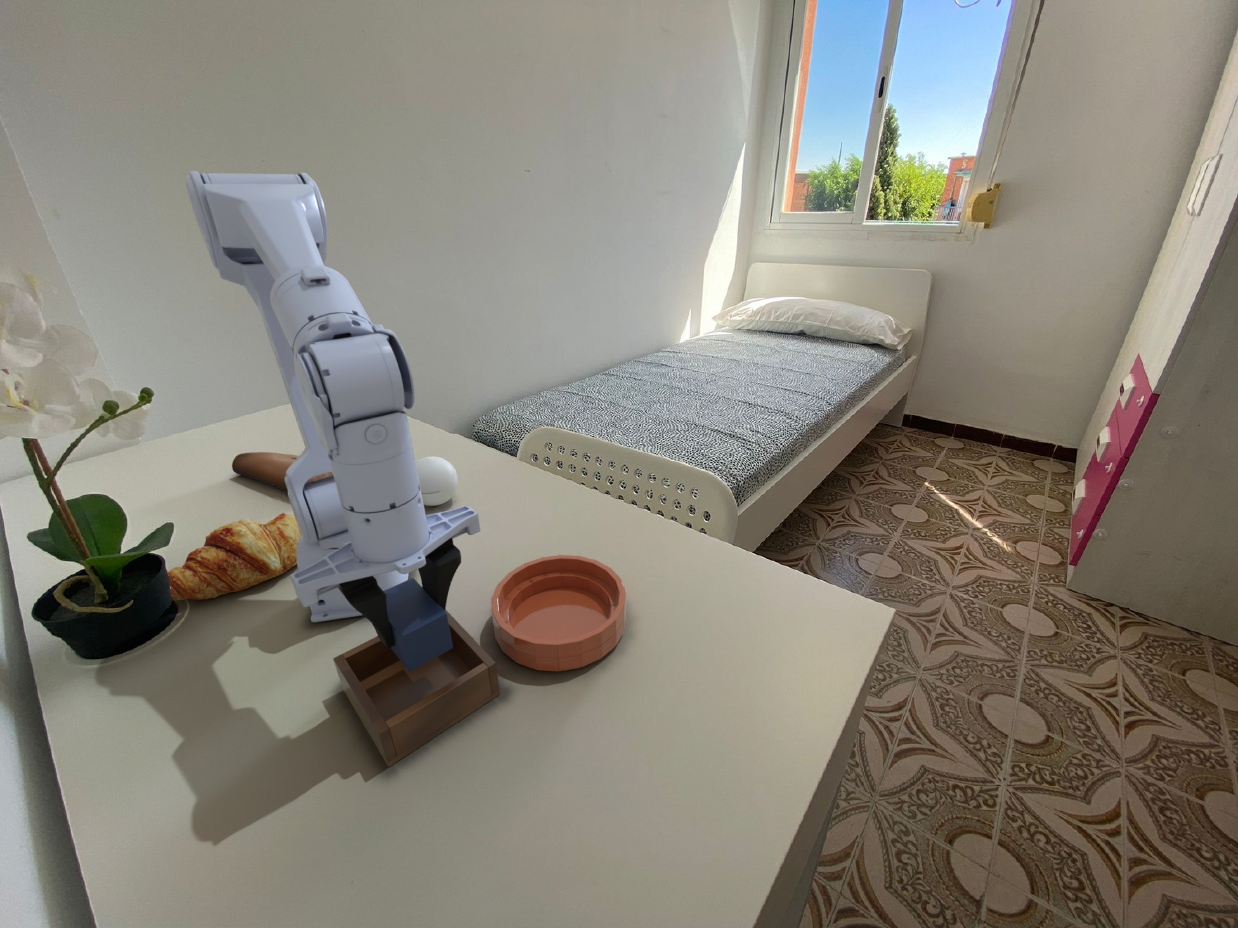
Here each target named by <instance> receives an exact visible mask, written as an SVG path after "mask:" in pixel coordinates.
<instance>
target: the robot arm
mask: <svg viewBox="0 0 1238 928" xmlns="http://www.w3.org/2000/svg"><path fill="white" fill-rule="evenodd" d="M184 182H185V186H186V187H185V188H186V190H187V194H188V197H189V201H190V204H191V207H192V212H193V214H194V216H195V219H196V220H195V221H196V222H197V226H198V229H199V231H200V233H201V236H202V239H203V241H204V243H205V245H206V246H205V247H206V248H207V252H208V254H209V258H210V261H211V263H212V266H213V267H214V268H215V269H217V271H218V274H219V277H220V279H222V280H225V281H226V282H227V281H228V282H231V283H233V284H236V285H239V286H242V287H244V288H245V290H246V291H247V293H248V294H249V296H250V298H251V299H252V301H253V303H254V304H255V306H256V307H257V309H258V311H259V313H260V316H261V318H262V321H263V326H264V328H265V331H266V333H267V337H268V340H269V343H270V346H271V349H272V352H273V355H274V358H275V361H276V364H277V367H278V370H279V373H280V377H281V379H282V382H283V385H284V388H285V391H286V394H287V397H288V400H289V403H290V406H291V410H292V412H293V415H294V418H295V421H296V424H297V428H298V430H299V433H300V437H301V439H302V442H303V445H304V449H303V450H302V452H301V453H300V454H299V455H298V456H299V457H298V458H297V459H296V460H295V461H294V462H293V463H292V464H291V466H290V467H289V468H288V469H287V471H286V477H285V483H286V486H287V489H288V492H287V496H288V500H289V503H290V507H291V509H292V513H293V516H294V517H295V518H296V521H297V524H298V527H299V529H300V532H301V534H302V535H301V537H300V539H299V542H298V546H297V564H296V567H297V571H296V572H294V573H291V574H290V575H289V576H290V579H291V582H292V585H293V588H294V591H295V594H296V596H297V598H298V600H299V601H300V603H301V605H302V606H303V607H304V608H307V607H309V609H310V612H311V615H310V620H311V623H319V622H320V623H321V622H326V621H332V620H339V619H347V618H353V617H360V616H363V617H365V618H366V619H367V620H368V621H369V622H370V623H371V625H372V626H373V628H374V630H375V633H376V635H377V636H378V637H379V639H380V640H381V641H382V643H383V644H384V645H385V647H386V648H390V647H392V646H394V645H395V643H394V636H393V632H392V629H391V626H390V623H389V619H388V613H387V603H386V594H385V593H384V591H385V590H387V589H389V588H391V587H394V586H396V585H398V584H400V583H402V582H405V581H407V580H409V577H410V575H409V574H410V573H412V572H415V571H416V570H418V573H419V577H420V580H421V587H422V588H423V589H424V590H425V591H426V592H427V593H428V594H429V595H430V596H431V597H432V598H433V599H434V600H435V601H436V602H437V604H438V605H439V606H440V607H441V608H442V609H443V610H444V611H445V609H446V608H447V601H448V597H449V593H450V592H449V591H450V588H451V584H452V582H453V579H454V576H455V575H456V573H457V570H458V569H459V567H460V565H461V564H462V553H461V550H460V549H459V548H458V546H456V545H455V544H454V540H453V539H455V538H458V537H460V536H462V535H465V534H467V535H468V536H474V535H475V534H478V533H480V532H481V524H480V517H479V513H478V512H477V511H475V510H474V508H472V507H470V506H469V505H468V504H466V505H462V506H460V507H457V508H454V509H449V510H446V511H445V510H444V511H440V512H436V513H431V514H426V510H425V505H424V504H423V499H422V493H421V488H420V483H419V477H418V472H417V467H416V457H415V452H414V447H413V440H412V435H411V430H410V426H409V425H410V424H409V420H408V415H407V412H406V411H405V410H404V409H407V410H411V409H413V407H414V405H415V397H416V396H415V385H414V378H413V375H412V370H411V367H410V363H409V360H408V357H407V355H406V353H405V350H404V348H403V345H402V343H401V342H400V340H399V338H398V336H397V335H396V333H395V332H394V331H393V330H391V329H389V328H385V327H384V326H383V325H382V323H378V324H375V323H373V322H372V320H371V319H370V317H369V315H368V313H367V312H366V310H365V308H364V306H363V304H362V302H361V301H360V299H359V297H358V296H357V294H356V292H355V291H354V288H353V287H352V285H351V283H350V282H349V281H348V279H347V278H346V277H345V276H344V275H343V274H342V273H340V272H339V271H338V270H335V269H334V268H331V267H329V266H326V261H327V254H328V253H327V251H328V247H327V246H328V236H329V224H328V217H327V212H326V207H325V203H324V200H323V197H322V194H321V191H320V188H319V186H318V185H317V183H316V181H315V180H314V179H313V178H312V177H311V176H310V175H309V174H308V173H306V172H301V171H300V172H297V173H294V174H293V173H230V172H229V173H227V172H226V173H225V172H224V173H221V172H220V173H219V172H218V173H217V172H215V173H213V172H200V173H199V171H197V170H189V171H188V174H187V176H186V177H185V178H184ZM328 472H333V476H330V477H327V478H323V479H319V480H316V481H312V482H308V483H306V482H307V481H308V480H309V479H310V478H312V477H315V476H317V475H321V474H325V473H328ZM446 610H447V609H446Z"/></svg>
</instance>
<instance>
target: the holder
mask: <svg viewBox="0 0 1238 928" xmlns="http://www.w3.org/2000/svg"><path fill="white" fill-rule="evenodd" d="M445 612H446V613H447V618H448V623H449V628H450V634H451V639H452V645H453V648H452V649H450V650H449V651H447V652H445V653H443V654H442V655H440V656H438V657H436V658H434V659H433V660H431V661H429V662H427V663H426V664H424V665H422V666H420V667H418V668H417V669H415V670H413V671H411V672H409V671H408V670H407V669H406V667H405V666H404V665H403V663H402V662H401V661H400V659H399V658H398V657H397V655H396V654H395V653H394V651H393V650H392V649H391V647H390V648H386V647H385V645H384V644H383V643H382V641H381V640H380V639H379V637H378V635H377V636H374V637H373V638H370V639H368V640H367V641H365V642H363V643H361V644H359V645H357V646H355V647H353V648H350V649H349V650H347V651H345V652H342V653H341V654H339V655H337V656H335V657H333V658H332V660H333V662H334V666H335V669H336V672H337V675H338V678H339V680H340V681H339V682H340V685H341V687H342V691H343V692H344V694H345V695H346V697H347V699H348V701H349V702H350V704H351V706H352V707H353V710H354V711H355V712H356V714H357V716H358V717H359V719H360V721H361V722H362V724H363V726H364V728H365V730H366V732H367V733H368V734H369V736H370V738H371V740H372V742H373V743H374V745H375V746H376V749H377V750H378V752H379V753H380V755H381V757H382V759H383V761H384V762H385V764H386V765H387V767H389V768H390V767H391V766H393V765H394V764H396V763H397V762H399V761H401V760H402V759H403V758H406V757H407V756H408V755H410V754H411V753H413V752H414V751H416V750H417V749H419V748H421V747H422V746H423V745H425V744H426V743H428V742H429V741H431V740H432V739H434V738H435V737H437V736H438V735H440V734H442V733H443V732H445V731H446V730H448V729H449V728H450V727H451V728H452V726H454V725H456V724H457V723H459V722H460V721H462V720H463V719H464V718H467V717H468V716H469V715H470V714H472V713H474V712H475V711H477V710H478V709H480V708H481V707H484V705H486V704H487V703H489V702H490V701H492V700H493V699H495V698H497V697H498V696H500V695H501V690H500V682H499V676H498V675H499V674H498V667H497V662H496V661H495V660H494V659H493V658H492V657H491V656H490V655H489V654H488V653H487V651H485V650H484V648H483V647H482V646H481V645H480V644H479V643H478V642H477V641H476V640H475V639H474V638H473V637H472V636H471V634H470V633H469V632H468V631H467V630H466V629H465V628H464V627H463V626H462V625H461V624H460V623H459V622H458V621H457V619H455V618H454V616H453V615H452V614H451V613H450V612H449V611H448V610H447V609H445Z"/></svg>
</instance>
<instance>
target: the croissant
mask: <svg viewBox="0 0 1238 928" xmlns="http://www.w3.org/2000/svg"><path fill="white" fill-rule="evenodd" d="M301 535H302V534H301V532H300V529H299V527H298V524H297V521H296V518H295V516H294V515H292V514H287V513H284V512H282V513H281V514H279V515H277V516H276V517H274V518H273V519H269V520H268V521H267V522H266V523H263V522H256V521H255V520H253V519H242V520H239V521H233V522H231V523H227V524H224V525H221V526H219V527H217V528H216V529H214V530H213V531H211V532H210V533H209V534H208V535H206V536H205V541H204V544H203V546H201V547H198V548H195V550H192V551H190V552H189V553H188V554H187V557H186V558H185V562H184V564H183V565H182V566H176V567H172V569H170V570H168V571H167V572H166V573H168V576H169V579H170V587H171V596H172V597H173V600H172V601H181V600H182V601H184V600H198V601H199V600H209V599H215V598H217V597H220V596H222V595H226V594H228V593H235V592H240V591H243V590H247V589H250V588H252V587H256V586H257V585H258V584H261V583H263V582H266V581H268V580H271V579H274V578H276V577H278V576H280V575H282V574H284V573H286V572H287V571H288V570H290V569H291V568H293V567H294V566H297V546H298V542H299V539H300V537H301Z"/></svg>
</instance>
